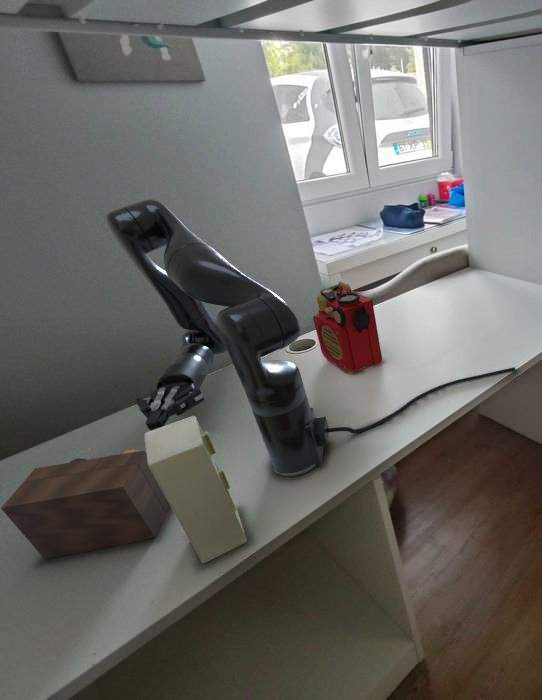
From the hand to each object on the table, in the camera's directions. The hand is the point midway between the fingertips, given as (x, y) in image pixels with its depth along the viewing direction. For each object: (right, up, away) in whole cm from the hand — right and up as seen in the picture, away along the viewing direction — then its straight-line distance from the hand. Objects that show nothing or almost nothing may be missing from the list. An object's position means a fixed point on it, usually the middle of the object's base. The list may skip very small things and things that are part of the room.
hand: (153, 427), depth 83 cm
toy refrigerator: (+19, -16, -11) cm, 27 cm away
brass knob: (+2, -7, -7) cm, 10 cm away
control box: (-1, -15, -8) cm, 17 cm away
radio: (+29, +12, +34) cm, 46 cm away
